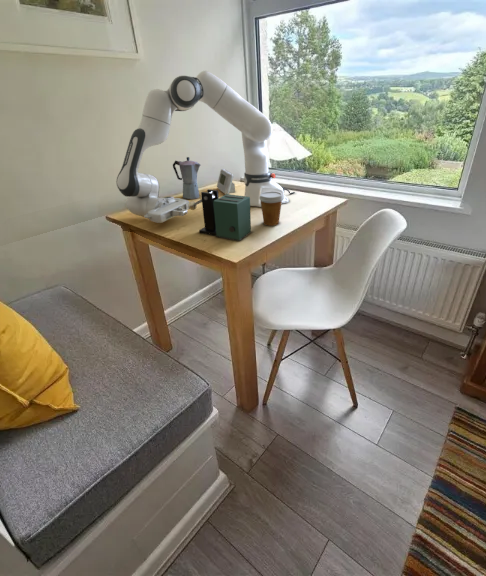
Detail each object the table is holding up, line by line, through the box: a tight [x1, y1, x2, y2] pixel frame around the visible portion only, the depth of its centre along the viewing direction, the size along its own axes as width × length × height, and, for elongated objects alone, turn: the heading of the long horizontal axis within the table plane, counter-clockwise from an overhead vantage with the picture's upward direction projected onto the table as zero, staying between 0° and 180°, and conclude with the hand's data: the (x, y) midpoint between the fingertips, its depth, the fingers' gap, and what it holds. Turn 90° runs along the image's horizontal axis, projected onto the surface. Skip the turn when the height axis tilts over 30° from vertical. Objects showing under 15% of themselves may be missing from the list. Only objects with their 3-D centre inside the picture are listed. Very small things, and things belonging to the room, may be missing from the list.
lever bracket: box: [199, 188, 220, 237], centre depth 125 cm, size 8×8×16 cm
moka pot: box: [172, 156, 202, 200], centre depth 165 cm, size 10×15×20 cm, turn 78°
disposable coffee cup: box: [259, 192, 283, 227], centre depth 132 cm, size 10×10×12 cm
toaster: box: [213, 193, 252, 242], centre depth 121 cm, size 10×10×14 cm
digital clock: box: [216, 168, 236, 195], centre depth 176 cm, size 16×9×11 cm, turn 11°
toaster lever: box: [188, 191, 215, 211], centre depth 125 cm, size 13×3×3 cm, turn 63°
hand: (185, 212), depth 131 cm, fingers closed
